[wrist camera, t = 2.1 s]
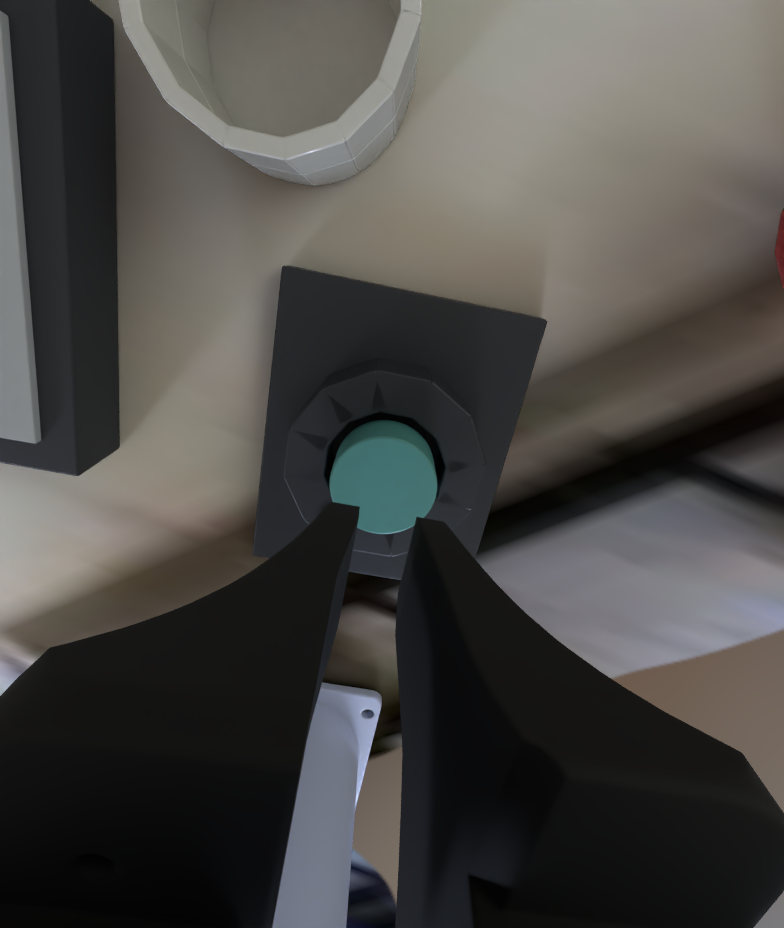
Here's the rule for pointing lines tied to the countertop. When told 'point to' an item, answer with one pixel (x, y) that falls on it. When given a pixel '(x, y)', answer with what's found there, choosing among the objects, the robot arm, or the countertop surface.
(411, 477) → the button
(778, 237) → the onion
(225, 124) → the cup
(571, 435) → the countertop surface
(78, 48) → the scale
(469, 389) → the pad
